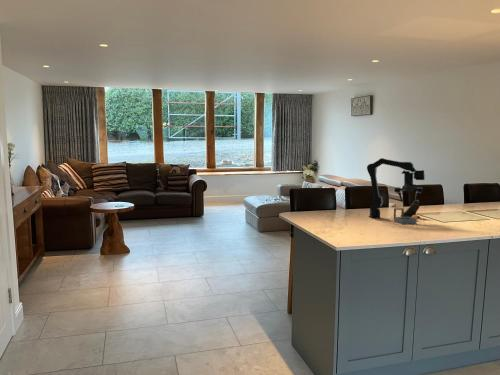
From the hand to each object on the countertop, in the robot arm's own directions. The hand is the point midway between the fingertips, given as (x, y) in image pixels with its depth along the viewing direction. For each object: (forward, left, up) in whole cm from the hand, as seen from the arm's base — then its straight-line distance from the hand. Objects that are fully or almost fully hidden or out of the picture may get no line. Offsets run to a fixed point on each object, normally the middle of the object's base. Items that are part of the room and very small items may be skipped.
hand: (408, 202), depth 292 cm
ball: (+3, -3, -11) cm, 12 cm away
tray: (-7, -9, -13) cm, 17 cm away
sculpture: (+8, +11, -13) cm, 19 cm away
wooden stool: (-5, +4, -13) cm, 14 cm away
